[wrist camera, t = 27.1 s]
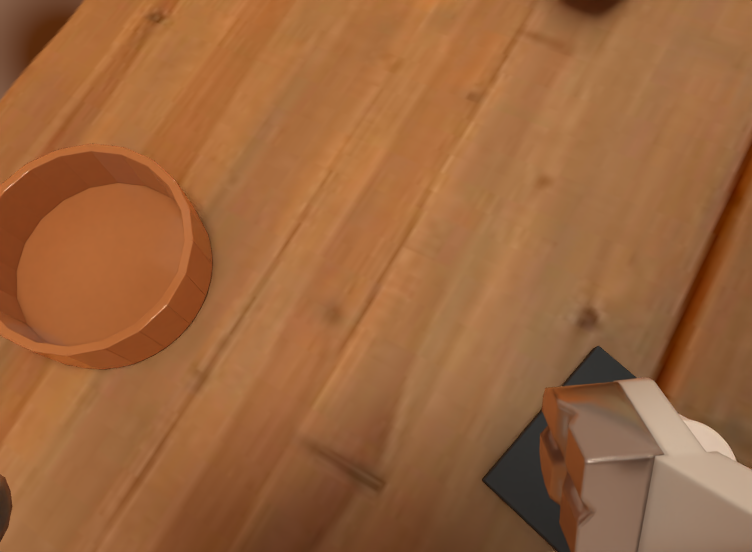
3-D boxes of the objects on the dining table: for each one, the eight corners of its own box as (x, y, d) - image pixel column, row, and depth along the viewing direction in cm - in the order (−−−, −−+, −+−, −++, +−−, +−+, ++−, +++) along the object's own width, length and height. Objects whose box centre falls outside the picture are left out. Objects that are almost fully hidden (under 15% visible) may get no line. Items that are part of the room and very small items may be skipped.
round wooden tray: (125, 144, 42) (95, 105, 38) (253, 265, 39) (238, 239, 35) (-29, 274, 39) (-79, 248, 35) (98, 413, 37) (61, 404, 33)
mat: (594, 348, 38) (598, 345, 37) (740, 471, 36) (748, 471, 35) (481, 480, 36) (483, 480, 35) (630, 620, 33) (636, 623, 33)
